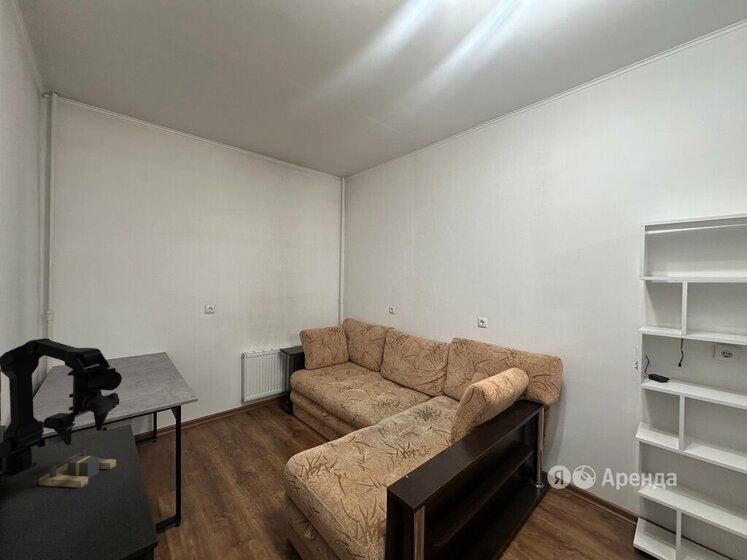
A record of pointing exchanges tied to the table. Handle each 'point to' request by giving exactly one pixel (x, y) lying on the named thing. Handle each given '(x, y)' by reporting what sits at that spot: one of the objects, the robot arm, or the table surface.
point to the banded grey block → (83, 466)
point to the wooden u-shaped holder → (62, 479)
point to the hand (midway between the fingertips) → (84, 437)
